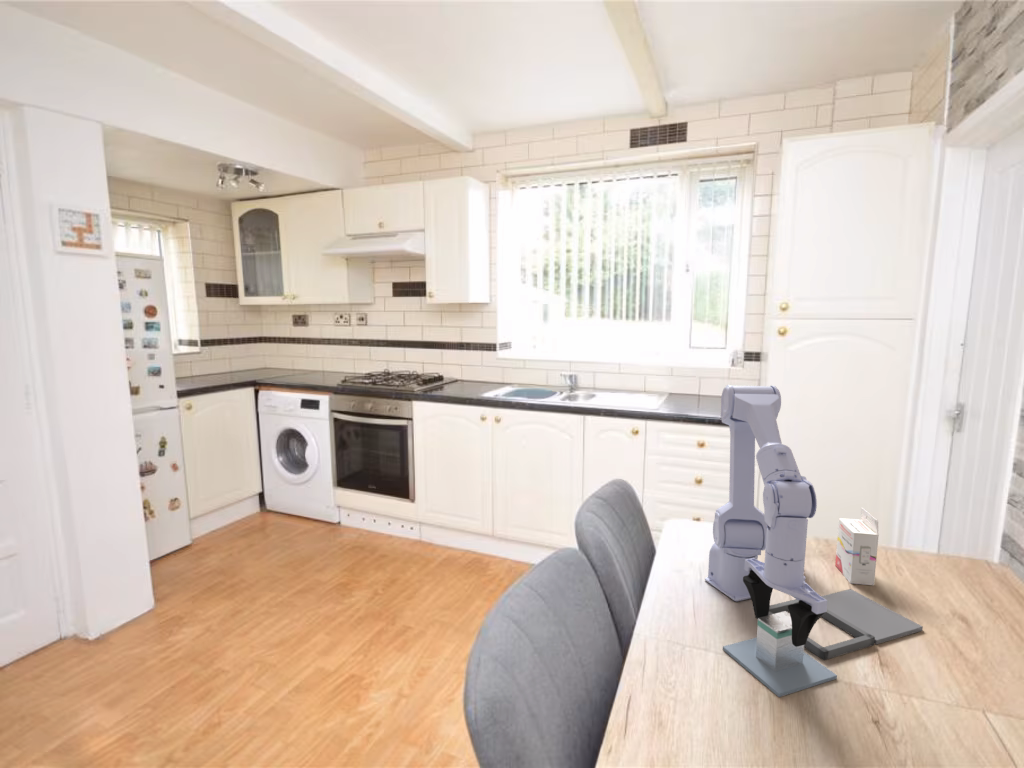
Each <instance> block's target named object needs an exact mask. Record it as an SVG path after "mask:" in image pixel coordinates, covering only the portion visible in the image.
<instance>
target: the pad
mask: <svg viewBox="0 0 1024 768" xmlns="http://www.w3.org/2000/svg"><path fill="white" fill-rule="evenodd" d="M756 642H757V636H756V637H753V638H750V639H746V640H741V641H737V642H733V643H730V644H727V645H722V651H724V652H725V653H726V654H727V655H728V656H730V658H732V659H733V660H734V661H736V662H737V663H738V664H739V665H740V666H741V667H742V668H744V669H745V670H746V671H747V672H749V673H750V674H751V675H752V676H754V678H756V679H757V680H758V681H759V682H760V683H761V684H763V685H764V686H765V687H767V688H768V689H769V691H771V692H772V693H773V694H775V695H776V697H778V698H781V697H784V696H787V695H790V694H793V693H794V694H795V693H796V692H799V691H802V690H803V691H804V690H805V689H809V688H812V687H815V686H819V685H821V684H825V683H828V682H831V681H833V680H837V678H838V675H837V674H836V673H835V672H833V671H832V670H830V669H829V668H828V667H826V666H825V665H824V664H822V663H821V662H819V661H818V660H816V659H815V658H813V657H812V656H811V655H809V654H807V653H806V652H805V651H804V654H803V663H802V664H799V665H796V666H792V667H789V668H786V669H782V670H779V671H776V672H774V671H773V670H772V669H771V668H769V667H768V666H767V665H766V664H764V663H763V662H762V661H761V660H759V659H758V658H757V657H756Z"/></svg>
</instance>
